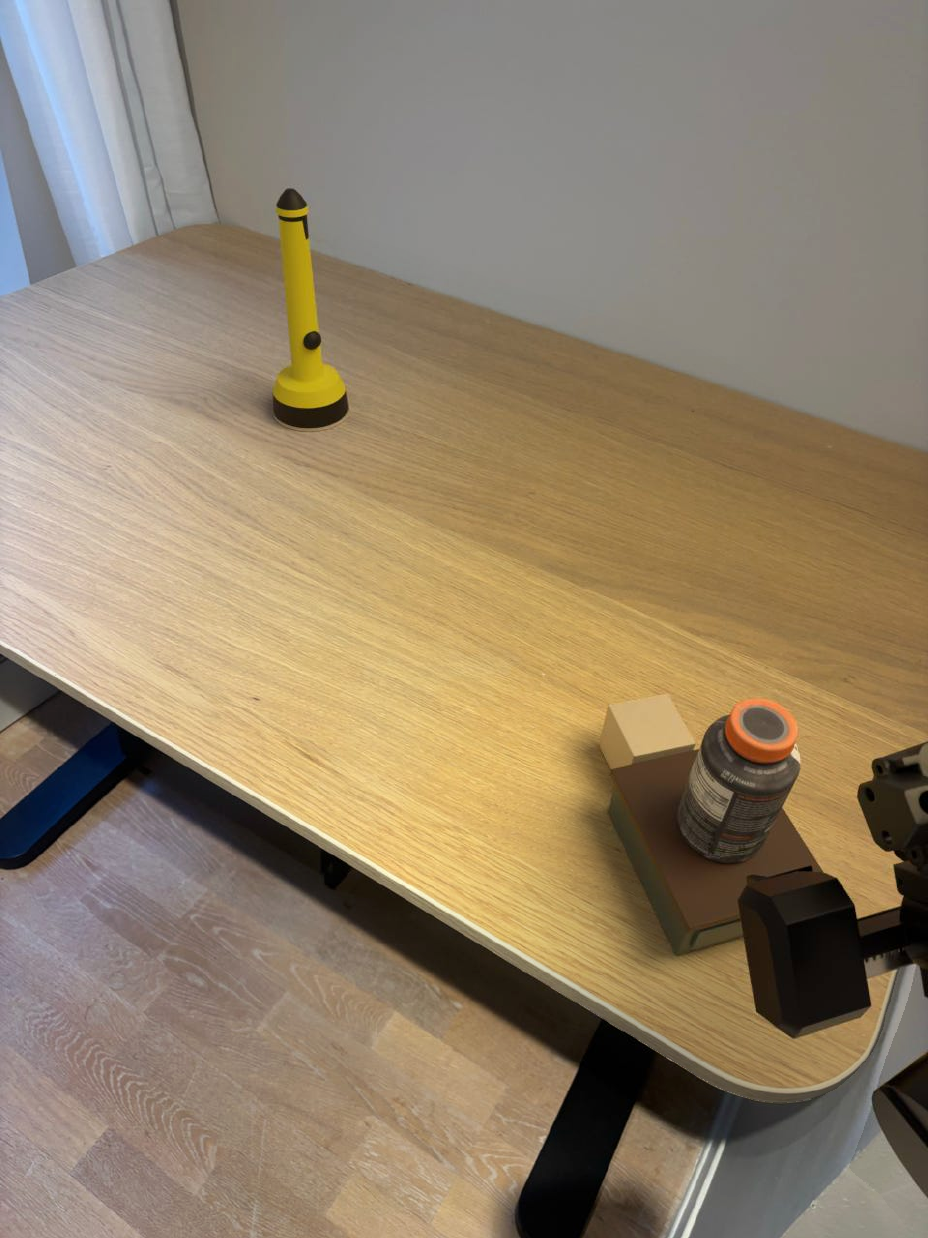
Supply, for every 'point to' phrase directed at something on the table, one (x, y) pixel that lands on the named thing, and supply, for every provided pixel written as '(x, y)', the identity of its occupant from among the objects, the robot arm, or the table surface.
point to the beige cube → (643, 731)
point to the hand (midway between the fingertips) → (824, 864)
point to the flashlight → (303, 334)
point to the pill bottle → (740, 781)
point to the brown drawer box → (690, 855)
